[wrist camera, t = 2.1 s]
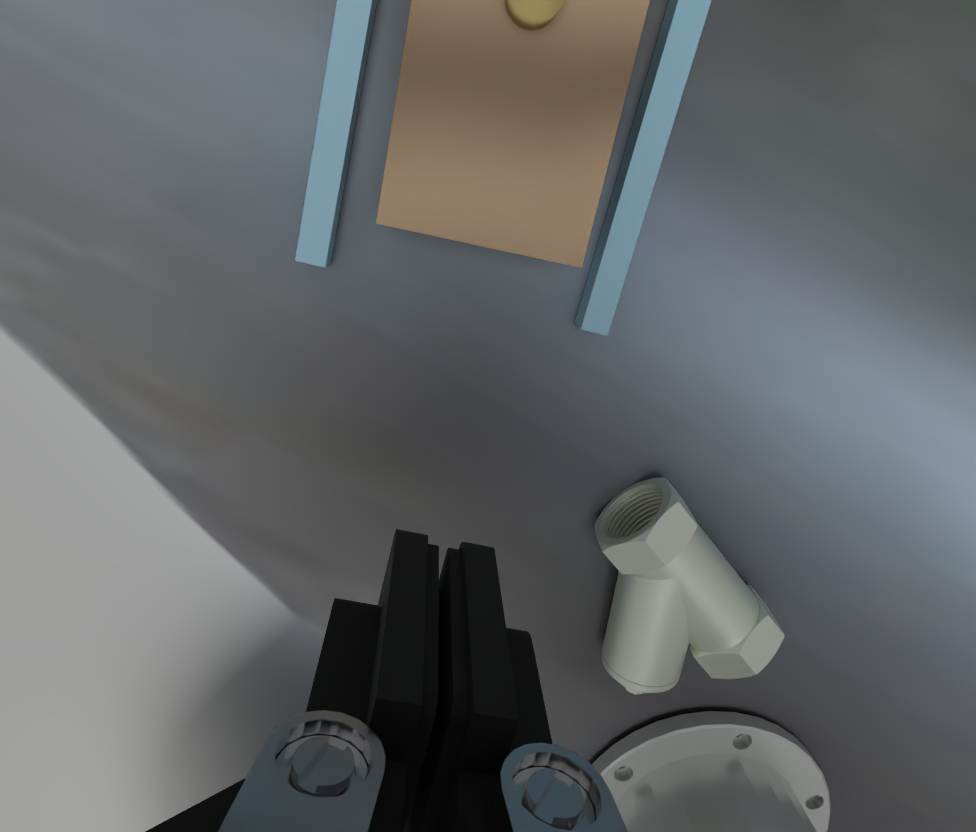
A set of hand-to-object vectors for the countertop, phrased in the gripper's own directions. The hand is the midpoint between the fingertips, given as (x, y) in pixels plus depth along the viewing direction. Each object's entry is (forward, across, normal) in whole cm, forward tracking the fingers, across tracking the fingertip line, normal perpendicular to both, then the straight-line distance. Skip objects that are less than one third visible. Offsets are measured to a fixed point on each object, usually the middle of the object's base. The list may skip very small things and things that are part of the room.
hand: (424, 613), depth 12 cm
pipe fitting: (+15, -11, +7) cm, 20 cm away
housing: (+15, 0, -9) cm, 18 cm away
